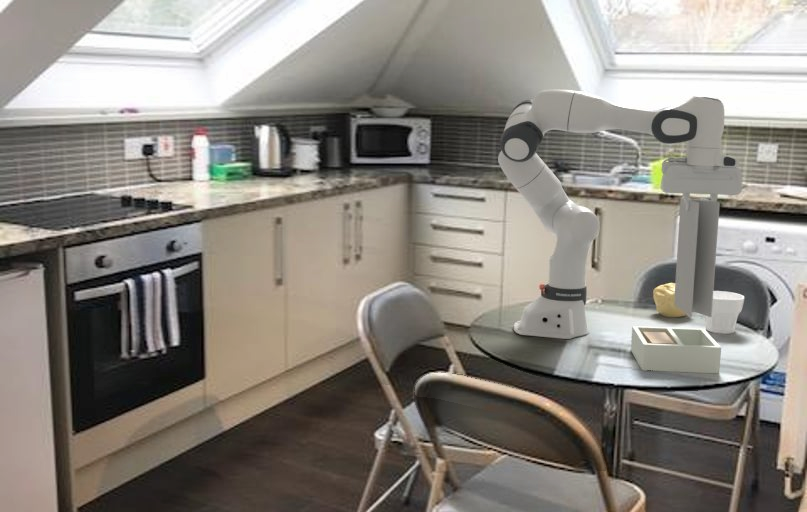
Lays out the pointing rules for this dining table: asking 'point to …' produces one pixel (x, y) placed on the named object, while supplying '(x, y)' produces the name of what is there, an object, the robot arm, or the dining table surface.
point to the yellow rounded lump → (666, 301)
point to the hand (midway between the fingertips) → (698, 210)
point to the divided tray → (677, 350)
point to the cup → (724, 312)
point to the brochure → (696, 256)
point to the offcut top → (657, 338)
